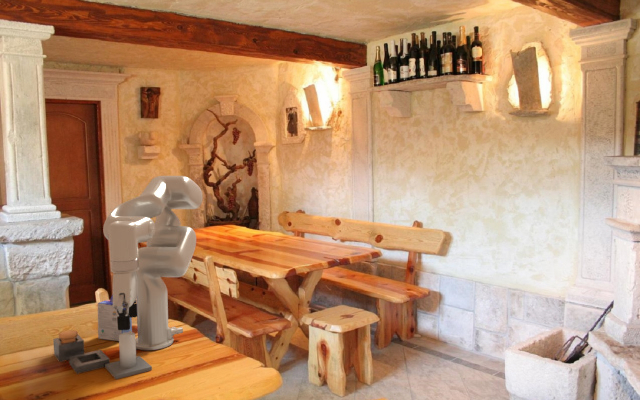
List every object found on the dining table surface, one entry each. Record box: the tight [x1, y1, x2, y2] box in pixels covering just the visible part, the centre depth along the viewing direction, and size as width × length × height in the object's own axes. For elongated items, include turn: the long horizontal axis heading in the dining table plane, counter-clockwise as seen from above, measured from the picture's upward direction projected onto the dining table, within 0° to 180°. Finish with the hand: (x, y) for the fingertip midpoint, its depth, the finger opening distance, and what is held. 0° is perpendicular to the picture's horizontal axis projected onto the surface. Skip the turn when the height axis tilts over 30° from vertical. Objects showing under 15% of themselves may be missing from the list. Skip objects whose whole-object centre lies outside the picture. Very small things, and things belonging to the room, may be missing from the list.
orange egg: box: [58, 330, 79, 343], centre depth 163 cm, size 5×5×6 cm
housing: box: [53, 334, 85, 363], centre depth 164 cm, size 7×7×5 cm
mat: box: [104, 355, 153, 380], centre depth 154 cm, size 10×10×1 cm
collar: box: [68, 349, 111, 375], centre depth 157 cm, size 9×9×2 cm
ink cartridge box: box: [97, 293, 133, 342], centre depth 178 cm, size 10×6×14 cm, turn 72°
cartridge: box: [118, 331, 137, 368], centre depth 154 cm, size 4×4×9 cm
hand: (127, 323), depth 154 cm, fingers open, 9 cm apart
